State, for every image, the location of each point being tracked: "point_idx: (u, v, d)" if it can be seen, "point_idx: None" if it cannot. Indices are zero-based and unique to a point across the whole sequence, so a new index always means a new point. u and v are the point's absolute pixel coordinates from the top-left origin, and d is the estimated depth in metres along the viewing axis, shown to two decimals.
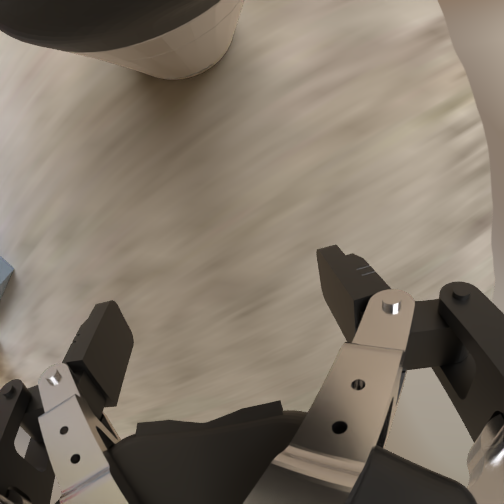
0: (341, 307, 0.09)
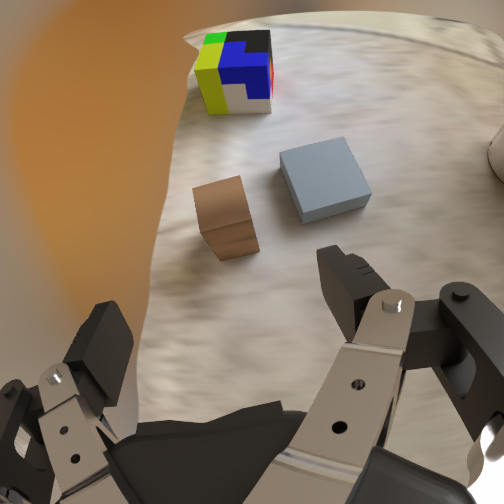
0: (341, 307, 0.09)
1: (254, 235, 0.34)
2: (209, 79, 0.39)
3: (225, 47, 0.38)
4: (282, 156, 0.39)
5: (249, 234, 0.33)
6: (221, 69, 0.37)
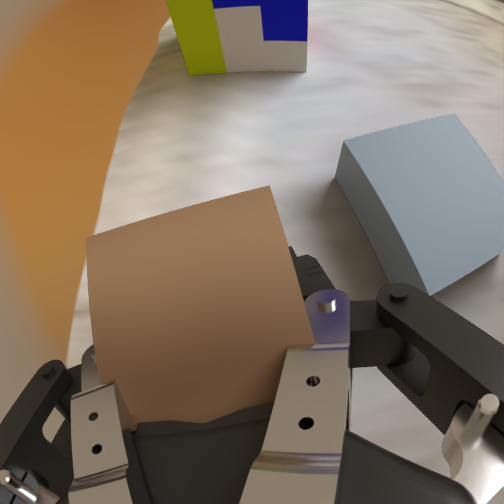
0: None
1: None
2: None
3: None
4: (352, 150, 0.15)
5: None
6: None
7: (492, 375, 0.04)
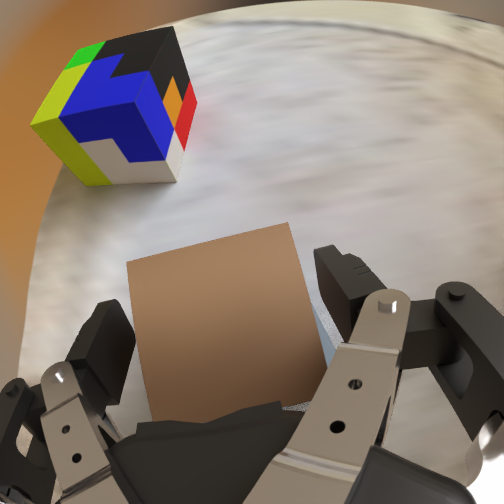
0: (338, 307, 0.09)
1: None
2: (58, 137, 0.20)
3: (87, 71, 0.19)
4: None
5: None
6: (64, 118, 0.18)
7: None
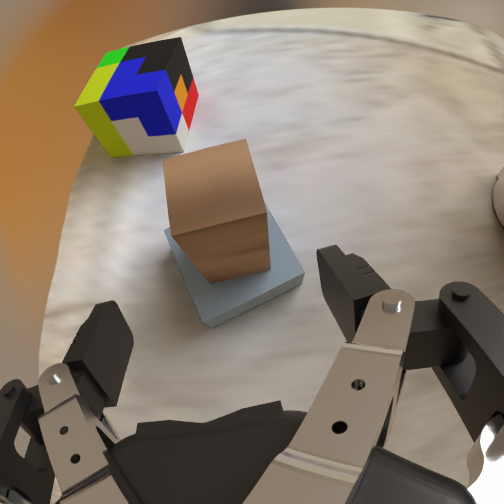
0: (341, 307, 0.09)
1: (267, 244, 0.20)
2: (95, 116, 0.28)
3: (118, 69, 0.28)
4: (168, 236, 0.27)
5: (260, 241, 0.19)
6: (103, 101, 0.26)
7: None
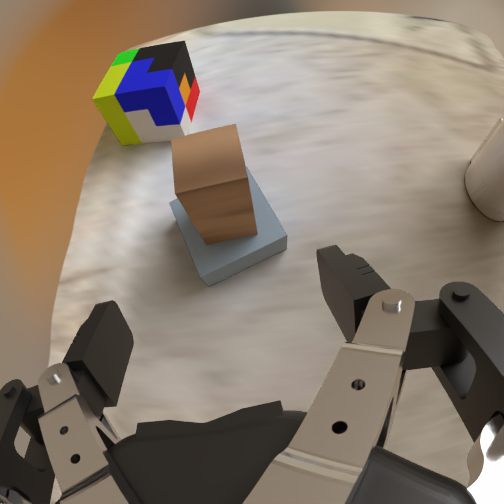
0: (341, 307, 0.09)
1: (251, 207, 0.25)
2: (110, 108, 0.33)
3: (130, 68, 0.32)
4: (172, 207, 0.32)
5: (245, 204, 0.24)
6: (118, 95, 0.31)
7: None
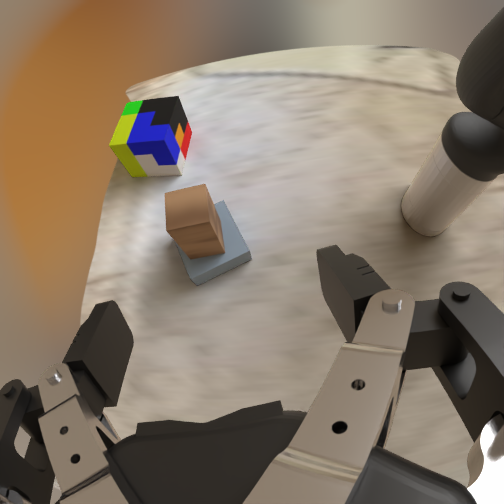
0: (341, 307, 0.09)
1: (216, 237, 0.38)
2: (123, 152, 0.47)
3: (137, 119, 0.46)
4: None
5: (211, 235, 0.38)
6: (129, 144, 0.45)
7: None
